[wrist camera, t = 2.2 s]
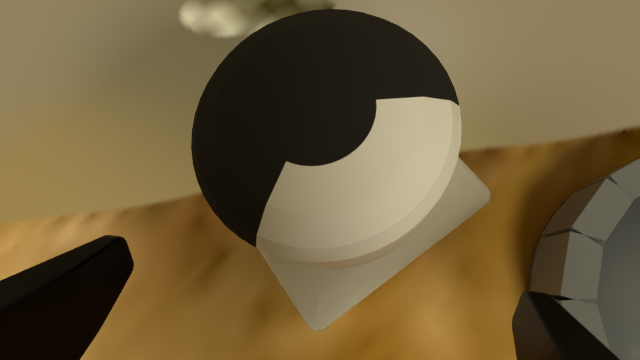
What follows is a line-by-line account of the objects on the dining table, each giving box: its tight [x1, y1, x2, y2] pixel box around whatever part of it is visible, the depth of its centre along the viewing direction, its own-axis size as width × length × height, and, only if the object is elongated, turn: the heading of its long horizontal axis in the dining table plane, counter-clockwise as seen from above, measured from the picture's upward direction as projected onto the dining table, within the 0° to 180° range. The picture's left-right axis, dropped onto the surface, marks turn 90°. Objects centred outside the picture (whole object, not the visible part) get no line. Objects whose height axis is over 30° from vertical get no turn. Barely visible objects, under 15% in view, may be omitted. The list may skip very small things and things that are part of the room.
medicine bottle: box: [191, 9, 490, 331], centre depth 13 cm, size 7×7×12 cm
